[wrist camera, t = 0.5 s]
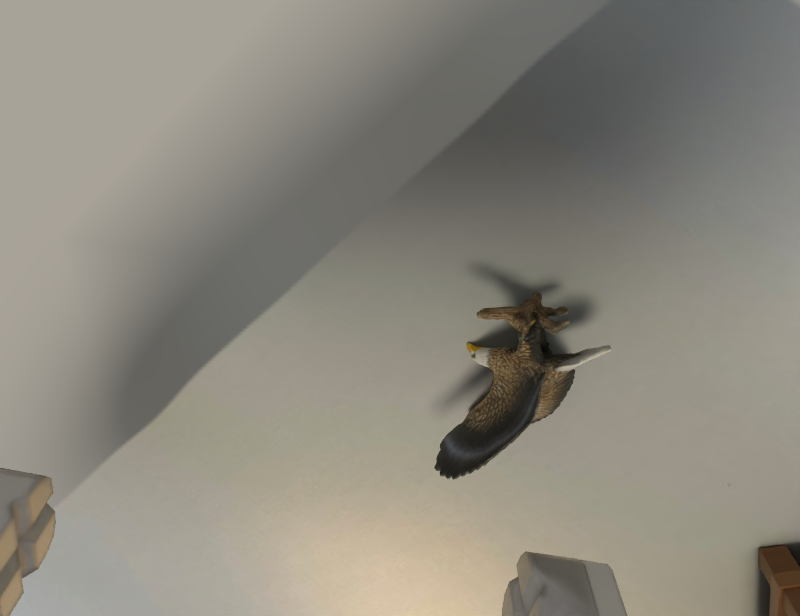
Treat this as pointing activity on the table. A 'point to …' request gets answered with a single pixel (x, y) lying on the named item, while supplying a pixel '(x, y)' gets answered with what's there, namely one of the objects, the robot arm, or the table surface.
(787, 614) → the shelf
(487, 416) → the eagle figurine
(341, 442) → the table surface
